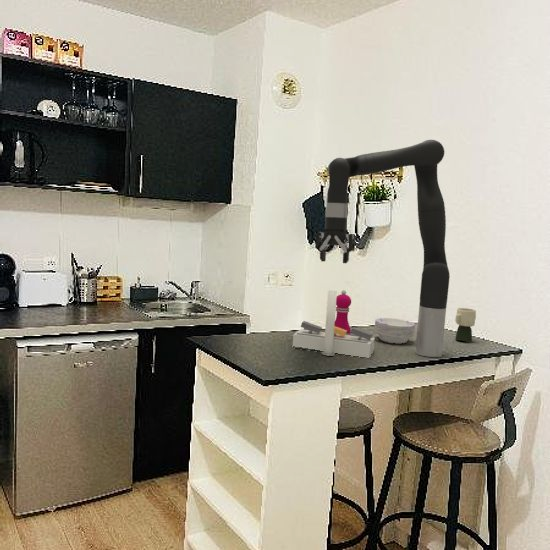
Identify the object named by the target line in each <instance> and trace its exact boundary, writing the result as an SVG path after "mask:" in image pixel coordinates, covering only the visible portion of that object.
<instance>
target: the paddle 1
mask: <svg viewBox="0 0 550 550" xmlns="http://www.w3.org/2000/svg"><path fill="white" fill-rule="evenodd" d="M300 328H301V329H304V328H305V329H308V330H311V331H313V332H316V333H320V332H321V330H322V329H323V326H319V325H317V324H314V323H311V322H308V321H305V320H303V321H302V322H301V325H300Z"/></svg>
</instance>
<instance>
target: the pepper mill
mask: <svg viewBox="0 0 550 550" xmlns="http://www.w3.org/2000/svg"><path fill="white" fill-rule="evenodd" d="M351 305H352V299H351V297H350V296H349V295H348V294H347V292H346V290H344V289H343V290H342V291H341V292H340V294H338V295H337V298H336V315H335V325H334V326H336V327H339V328H341V329H344V330H347V332H346V334H351V330H352V329H351V326H350V323H349V320H348V319H349V318H348V317H349V316H348V315H349V312H350V306H351Z"/></svg>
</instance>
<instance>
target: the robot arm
mask: <svg viewBox="0 0 550 550" xmlns="http://www.w3.org/2000/svg"><path fill="white" fill-rule="evenodd" d="M444 156H445V148H444V146H443V144H442V143H441V142H440V141H438V140H436V139H426V140H424V141H422V142H419V143H417V144H414V145H411V146H407V147H402V148H397V149H390V150H383V151H375V152H371V153H363V154H360V155H356V156H353V157H344V158H343V157H336V158H335V159H332V161H330V162H329V165H328V166H327V173H328V176H329V177H328V189H327V194H326V195H327V196H326V205H325V206H326V207H325V214H324V215H325V217H324V218H325V219H324V220H325V221H324V222H325V223H324V232H322V231H317V232H316V235H315V246H314V248H315V249H317V250H319V260H320V262H326V258H327V257H326V256H327V251H326V250H327V249H328V247H329V246H339V247H340V248H341V249H342V251H343V252H342V264H348V262H349V261H350V259H349V258H350V252H354V251H355V250H356V248H355V246H356V244H355V239H356V238H355V237H356V236H355V234H354V233H349V234H348V233H347V224H348V223H347V222H348V186H349V180H350V178H352V177H356V176H357V177H358V176H364V175H372V174H377V173H382V172H387V171H391V170H394V169H399V168H404V167H409V166H414V171H415V173H414V174H415V177H416V185H417V186H416V189H417V190H416V192H417V197H416V199H417V219H418V227H419V233H420V239H421V242H422V246H423V247H422V248H423V269H422V272H421V281H420V282H421V283H420V293H419V305H418V307H419V308H418V315H417V317H418V318H417V327H416V329H417V330H416V340H415V341H416V342H415V347H414V348H415V351H414V352H415V354H417V355H418V356H419V355H420V356H422V357H423V356H424V357H429V358H442V355H443V349H444V348H443V346H444V337H445V335H444V334H445V325H446V314H447V306H448V305H447V303H448V298H449V297H448V295H449V287H450V270H449V267H448V261H447V254H446V247H445V243H446V227H447V226H446V223H447V222H446V221H447V220H446V219H447V218H446V206H445V200H444V197H443V193H442V192H441V189H440V185H439V182H438V181H439V180H438V164H440V163H441V161H443V159H444V158H445V157H444ZM323 238H324V239H325V240H324V241H323ZM346 239H347V241H348V243H347V242H346Z"/></svg>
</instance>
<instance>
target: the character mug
mask: <svg viewBox="0 0 550 550" xmlns="http://www.w3.org/2000/svg"><path fill="white" fill-rule="evenodd" d="M476 316H477V311H476V310H475V309H473V308H467V307H458V308H457V309H456V315H455V323H456V324H457V325H458V327H457V329H456V333H455V340H457V341H460V342H462V341H463V342H472V341H473V331H472V327H474V326H475V323H476V318H477V317H476Z"/></svg>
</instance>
